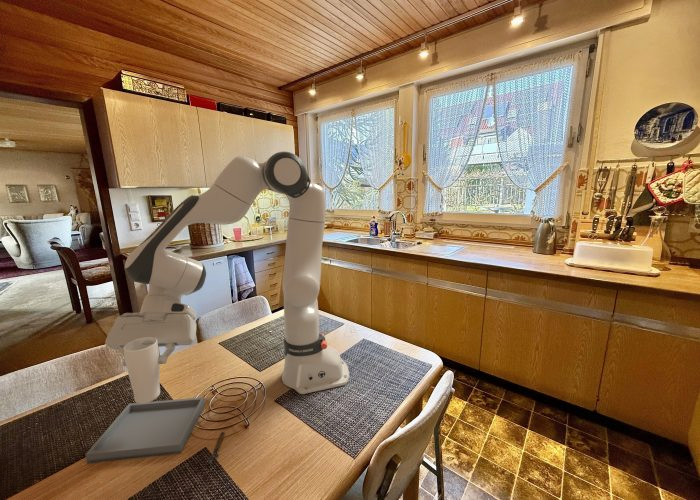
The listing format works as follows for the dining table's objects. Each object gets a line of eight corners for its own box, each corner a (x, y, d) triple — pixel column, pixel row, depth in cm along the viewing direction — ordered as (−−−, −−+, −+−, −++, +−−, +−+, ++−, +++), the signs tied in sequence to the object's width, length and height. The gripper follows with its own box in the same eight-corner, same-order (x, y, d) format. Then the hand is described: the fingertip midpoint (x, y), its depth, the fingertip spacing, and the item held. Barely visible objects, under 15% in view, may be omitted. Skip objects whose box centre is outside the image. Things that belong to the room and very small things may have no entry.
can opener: (221, 435, 73) (220, 431, 73) (230, 435, 73) (229, 431, 73) (203, 469, 64) (202, 464, 64) (213, 469, 64) (212, 464, 64)
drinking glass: (147, 409, 68) (140, 353, 65) (124, 404, 70) (115, 349, 66) (170, 390, 75) (164, 338, 72) (148, 386, 76) (141, 335, 73)
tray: (205, 404, 83) (204, 397, 82) (181, 453, 67) (179, 444, 67) (130, 411, 80) (129, 403, 80) (87, 463, 65) (85, 454, 64)
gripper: (111, 308, 74) (89, 364, 67) (194, 305, 77) (182, 358, 69) (124, 317, 79) (105, 370, 72) (202, 314, 82) (192, 364, 75)
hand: (144, 364), depth 71 cm, fingers closed on drinking glass, 6 cm apart
